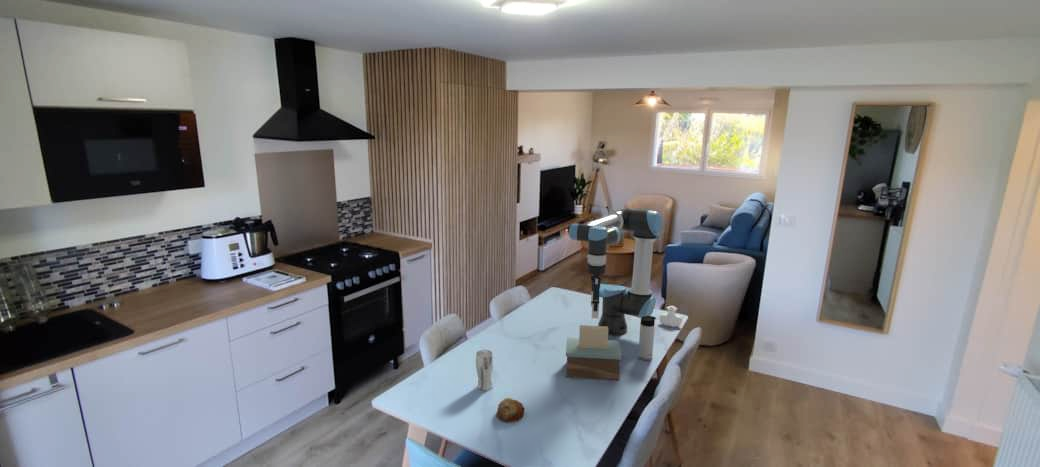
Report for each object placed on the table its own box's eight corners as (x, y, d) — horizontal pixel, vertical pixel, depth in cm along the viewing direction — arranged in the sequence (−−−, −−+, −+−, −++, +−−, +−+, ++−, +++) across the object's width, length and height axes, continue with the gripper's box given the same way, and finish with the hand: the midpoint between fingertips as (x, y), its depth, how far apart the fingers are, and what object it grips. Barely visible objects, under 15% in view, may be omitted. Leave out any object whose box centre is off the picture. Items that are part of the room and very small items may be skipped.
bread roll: (501, 416, 184) (492, 399, 183) (525, 404, 184) (516, 388, 182) (502, 432, 175) (492, 414, 173) (528, 420, 175) (518, 402, 173)
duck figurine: (681, 330, 260) (684, 310, 265) (681, 326, 254) (683, 305, 258) (658, 326, 265) (661, 307, 269) (657, 322, 258) (660, 302, 263)
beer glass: (495, 384, 200) (495, 350, 197) (489, 393, 194) (489, 358, 190) (480, 381, 202) (479, 348, 199) (473, 389, 196) (472, 355, 193)
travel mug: (653, 361, 220) (656, 320, 216) (638, 360, 222) (641, 319, 217) (652, 355, 226) (655, 315, 222) (638, 353, 228) (640, 313, 223)
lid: (566, 341, 218) (567, 319, 216) (618, 343, 215) (619, 321, 213) (565, 356, 203) (566, 333, 201) (621, 359, 201) (622, 336, 198)
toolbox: (567, 362, 219) (567, 341, 217) (616, 365, 217) (617, 344, 215) (566, 377, 206) (567, 355, 204) (619, 380, 203) (620, 359, 201)
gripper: (586, 255, 213) (585, 301, 218) (588, 271, 189) (586, 322, 194) (604, 256, 213) (601, 302, 217) (607, 272, 188) (605, 323, 193)
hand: (594, 312), depth 205 cm, fingers open, 13 cm apart
